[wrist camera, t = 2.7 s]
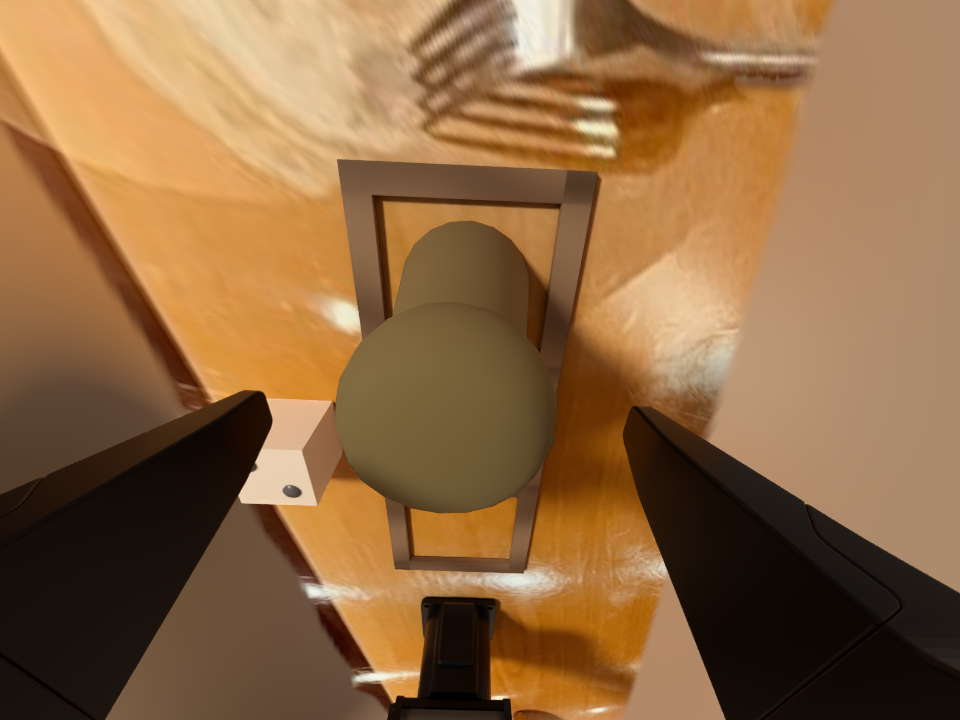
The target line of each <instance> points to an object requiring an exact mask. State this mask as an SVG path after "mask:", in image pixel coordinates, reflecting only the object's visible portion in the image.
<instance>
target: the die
mask: <svg viewBox="0 0 960 720" xmlns="http://www.w3.org/2000/svg"><path fill="white" fill-rule="evenodd" d="M266 399H267V402H268V405H269V408H270V411H271V414H272V418H273V423H272V427H271V430H270V432H269V434H268V436H267V438H266V440H265V443H264V445H263V447H262V449H261V451H260V453H259V456H258V458H257V460H256V462H255V464H254V466H253V469H252V471H251V473H250V475H249V477H248V479H247V481H246V483H245V485H244V486H243V488H242V490H241V492H240V493H239V495H238V496H239V498H240V500H241V502H242V503H253V504H282V505H311V506H318V504H319V502H320V500H321V497H322V495H323V493H324V491H325V489H326V487H327V485H328V483H329V481H330V479H331V476H332V474H333V472H334V470H335V468H336V466H337V464H338V462H339V460H340V458H341V455H342V453H343V449H342V445H341V441H340V438H339V435H338V431H337V428H336V425H335V422H334V421H335V411H334V406H333V401H320V400H296V399H272V398H266Z"/></svg>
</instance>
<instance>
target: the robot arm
mask: <svg viewBox="0 0 960 720" xmlns="http://www.w3.org/2000/svg"><path fill="white" fill-rule="evenodd" d="M272 423H273V418H272V414H271V411H270V408H269V405H268V402H267V399H266V396H265V394H264V393H263V392H261V391H253V390H244V391H241V392H238V393H236V394H234V395H231V396H229V397H227V398H224V399H222V400H220V401H217V402H215V403H213V404H210V405H208V406H206V407H203V408H201V409H199V410H196V411H194V412H192V413H189V414H187V415H185V416H182V417H180V418H178V419H175V420H173V421H171V422H168V423H166V424H164V425H161V426H159V427H157V428H154V429H152V430H150V431H147V432H145V433H143V434H140V435H138V436H136V437H133V438H131V439H129V440H126V441H124V442H122V443H119V444H117V445H115V446H112V447H110V448H108V449H105V450H103V451H101V452H98V453H96V454H94V455H92V456H89V457H87V458H84V459H82V460H80V461H78V462H75V463H73V464H70V465H68V466H66V467H63V468H61V469H59V470H57V471H54V472H52V473H49V474H48V475H46V476H45V477H40V478H37V479H35V480H33V481H30V482H28V483H26V484H23V485H21V486H19V487H16V488H14V489H12V490H10V491H7V492H5V493H2V494H0V720H105V719H106V717H107V715H108V714H109V712H110V710H111V709H112V707H113V705H114V703H115V702H116V700H117V699H118V697H119V695H120V694H121V692H122V690H123V689H124V687H125V685H126V684H127V682H128V680H129V678H130V677H131V675H132V673H133V672H134V670H135V668H136V667H137V665H138V663H139V662H140V660H141V658H142V657H143V655H144V653H145V652H146V650H147V648H148V646H149V645H150V643H151V641H152V640H153V638H154V636H155V635H156V633H157V631H158V630H159V628H160V626H161V625H162V623H163V621H164V620H165V618H166V616H167V615H168V613H169V611H170V610H171V608H172V606H173V604H174V603H175V601H176V599H177V598H178V596H179V594H180V593H181V591H182V589H183V588H184V586H185V584H186V582H187V581H188V579H189V578H190V576H191V574H192V572H193V571H194V569H195V567H196V566H197V564H198V562H199V561H200V559H201V557H202V556H203V554H204V552H205V551H206V549H207V547H208V546H209V544H210V542H211V541H212V539H213V537H214V536H215V534H216V532H217V530H218V529H219V527H220V525H221V523H222V522H223V520H224V519H225V517H226V515H227V514H228V512H229V510H230V509H231V507H232V505H233V504H234V502H235V500H236V499H237V497H238V495H239V493H240V492H241V490H242V488H243V486H244V485H245V483H246V481H247V479H248V477H249V475H250V473H251V471H252V469H253V466H254V464H255V462H256V460H257V458H258V456H259V453H260V451H261V449H262V447H263V445H264V443H265V440H266V438H267V436H268V434H269V432H270V430H271V427H272ZM623 441H624V445H625V448H626V452H627V456H628V460H629V463H630V467H631V471H632V474H633V478H634V482H635V486H636V489H637V493H638V496H639V499H640V501H641V504H642V507H643V509H644V512H645V515H646V517H647V520H648V522H649V525H650V527H651V530H652V532H653V535H654V538H655V540H656V543H657V545H658V548H659V550H660V553H661V556H662V558H663V561H664V563H665V566H666V568H667V571H668V573H669V576H670V579H671V581H672V584H673V586H674V589H675V591H676V594H677V596H678V599H679V602H680V604H681V607H682V609H683V612H684V614H685V617H686V619H687V622H688V625H689V627H690V630H691V632H692V635H693V637H694V640H695V642H696V645H697V647H698V650H699V653H700V655H701V658H702V660H703V663H704V665H705V668H706V671H707V673H708V676H709V678H710V681H711V683H712V686H713V688H714V691H715V694H716V696H717V699H718V701H719V704H720V706H721V709H722V712H723V714H724V717H725V719H726V720H960V593H959V592H957V591H955V590H954V589H952V588H950V587H948V586H947V585H945V584H943V583H941V582H939V581H938V580H936V579H934V578H932V577H930V576H929V575H927V574H925V573H923V572H922V571H920V570H918V569H916V568H915V567H913V566H911V565H909V564H908V563H906V562H904V561H902V560H900V559H899V558H897V557H895V556H894V555H892V554H890V553H888V552H887V551H885V550H883V549H882V548H880V547H878V546H876V545H874V544H873V543H871V542H869V541H868V540H866V539H864V538H862V537H861V536H859V535H858V534H856V533H854V532H853V531H851V530H849V529H848V528H846V527H844V526H843V525H841V524H839V523H838V522H836V521H835V520H833V519H831V518H830V517H828V516H826V515H825V514H823V513H822V512H820V511H818V510H817V509H815V508H814V507H812V506H810V505H808V504H806V505H805V503H804V501H802V500H801V499H799V498H797V497H796V496H794V495H793V494H791V493H789V492H788V491H786V490H784V489H783V488H781V487H780V486H778V485H776V484H775V483H773V482H772V481H770V480H768V479H767V478H765V477H764V476H762V475H760V474H759V473H757V472H756V471H754V470H752V469H751V468H749V467H747V466H746V465H744V464H743V463H741V462H739V461H738V460H736V459H735V458H733V457H731V456H730V455H728V454H726V453H725V452H723V451H722V450H720V449H719V448H717V447H715V446H714V445H712V444H710V443H709V442H707V441H706V440H704V439H702V438H701V437H699V436H698V435H696V434H694V433H693V432H691V431H690V430H688V429H686V428H685V427H683V426H682V425H680V424H678V423H677V422H675V421H674V420H672V419H670V418H669V417H667V416H666V415H664V414H662V413H661V412H659V411H657V410H656V409H654V408H653V407H651V406H639V405H635V406H633V407H632V408H631V409H630V412H629V415H628V418H627V421H626V424H625V427H624V431H623ZM421 613H422V625H423V636H424V637H425V639H424V648H423V656H422V664H421V672H420V680H419V688H418V696H417V698H407V697H404V696H397V698H396V702H395V703H393V704H390V707H389V712H388V718H387V720H512V714H511V702H510V699H503V700H491V676H490V640H491V639H492V638H493V630H494V622H495V614H496V602H495V601H493V600H468V599H437V598H425V599H422V602H421Z"/></svg>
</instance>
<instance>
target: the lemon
mask: <svg viewBox="0 0 960 720" xmlns="http://www.w3.org/2000/svg"><path fill="white" fill-rule="evenodd" d="M513 720H528V719H527V718H526V717H525V715H524V714H523V713H522V712H518V713H517V714H516V716H515V718H514V719H513Z"/></svg>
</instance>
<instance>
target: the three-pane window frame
mask: <svg viewBox="0 0 960 720" xmlns="http://www.w3.org/2000/svg"><path fill="white" fill-rule="evenodd" d="M337 162H338V170H339V177H340V184H341V191H342V198H343V205H344V212H345V219H346V226H347V233H348V240H349V247H350V254H351V261H352V268H353V275H354V282H355V289H356V296H357V304H358V311H359V318H360V325H361V332H362V339H364V338H365V337H367V336H368V335H369V334H370V333H371V332H373V331H374V330H375V329H376V328H377V327H379V326H380V325H381V324H382V323H383V322H385V321H386V320H387V317H386V307H385V297H384V287H383V277H382V267H381V257H380V247H379V237H378V227H377V217H376V207H375V197H374V195H385V196H407V197H429V198H450V199H472V200H494V201H515V202H537V203H558V204H560V211H559V217H558V224H557V231H556V238H555V245H554V252H553V259H552V266H551V273H550V280H549V287H548V294H547V301H546V308H545V315H544V322H543V329H542V336H541V343H540V350H539V352H540V354H541V355H542V356H543V357H544V360H545V363H546V366H547V368H548V371H549V374H550V378H551V381H552V384H553V387H554V390H555V393H556V395H557V390H558V384H559V379H560V373H561V368H562V363H563V357H564V352H565V346H566V341H567V336H568V330H569V325H570V319H571V314H572V309H573V303H574V298H575V292H576V287H577V281H578V276H579V271H580V265H581V260H582V254H583V249H584V244H585V238H586V233H587V227H588V222H589V217H590V211H591V206H592V200H593V195H594V190H595V184H596V179H597V173H598V172H595V171H574V170H553V169H532V168H511V167H490V166H468V165H447V164H426V163H405V162H384V161H363V160H342V159H337ZM543 465H544V463H543ZM543 465H542V466H541V468H540V469H539V471H538V472H537V474H536V476H535V477H534V478H533V479H532V480H531V481H530V482H529V483H528V484H527V485H526V486H525V487H524V488H523V489H521V490H520V491H519V492H518V493H517V494H516V495H514V496H512V497H518V503H517V510H516V517H515V524H514V531H513V537H512V544H511V551H510V558H509V559H487V558H457V557H427V556H410V547H409V537H408V527H407V517H406V507H405V506H404V505H402V504H400V503H397V502H395V501H392V500H390V499H387V498H385V501H386V508H387V515H388V522H389V529H390V536H391V543H392V550H393V558H394V565H395V569H402V570H433V571H463V572H494V573H524V568H525V562H526V557H527V552H528V546H529V541H530V535H531V530H532V525H533V519H534V514H535V508H536V503H537V498H538V492H539V487H540V481H541V476H542V471H543Z"/></svg>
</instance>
